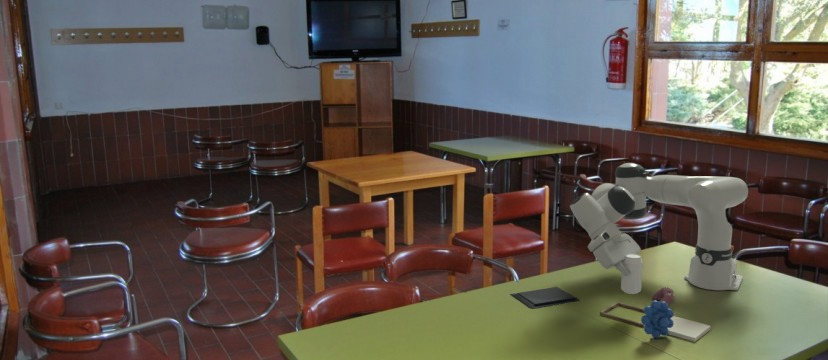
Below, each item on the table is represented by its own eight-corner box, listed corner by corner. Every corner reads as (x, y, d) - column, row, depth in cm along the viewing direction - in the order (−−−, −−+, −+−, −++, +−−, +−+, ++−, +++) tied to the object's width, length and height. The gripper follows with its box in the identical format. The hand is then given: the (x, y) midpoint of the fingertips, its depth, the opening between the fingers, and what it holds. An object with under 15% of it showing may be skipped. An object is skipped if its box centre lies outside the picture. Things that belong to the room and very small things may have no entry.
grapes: (650, 347, 200) (653, 307, 197) (635, 337, 206) (637, 299, 204) (682, 340, 204) (685, 302, 202) (666, 331, 210) (668, 294, 208)
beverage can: (616, 289, 223) (618, 254, 220) (632, 287, 225) (634, 251, 223) (629, 296, 217) (631, 259, 215) (645, 293, 220) (647, 257, 217)
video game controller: (667, 314, 227) (678, 297, 225) (654, 308, 228) (665, 290, 226) (662, 303, 237) (673, 287, 235) (650, 297, 237) (661, 280, 235)
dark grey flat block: (530, 305, 228) (509, 290, 242) (530, 311, 228) (508, 295, 242) (582, 298, 235) (558, 283, 249) (582, 303, 235) (558, 288, 249)
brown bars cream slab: (617, 303, 232) (617, 300, 232) (710, 329, 212) (710, 325, 212) (599, 314, 224) (599, 311, 223) (694, 342, 203) (695, 338, 203)
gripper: (615, 235, 234) (641, 269, 229) (584, 248, 219) (611, 285, 214) (628, 225, 230) (655, 259, 225) (598, 237, 215) (625, 274, 210)
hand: (633, 272), depth 219 cm, fingers closed on beverage can, 6 cm apart
